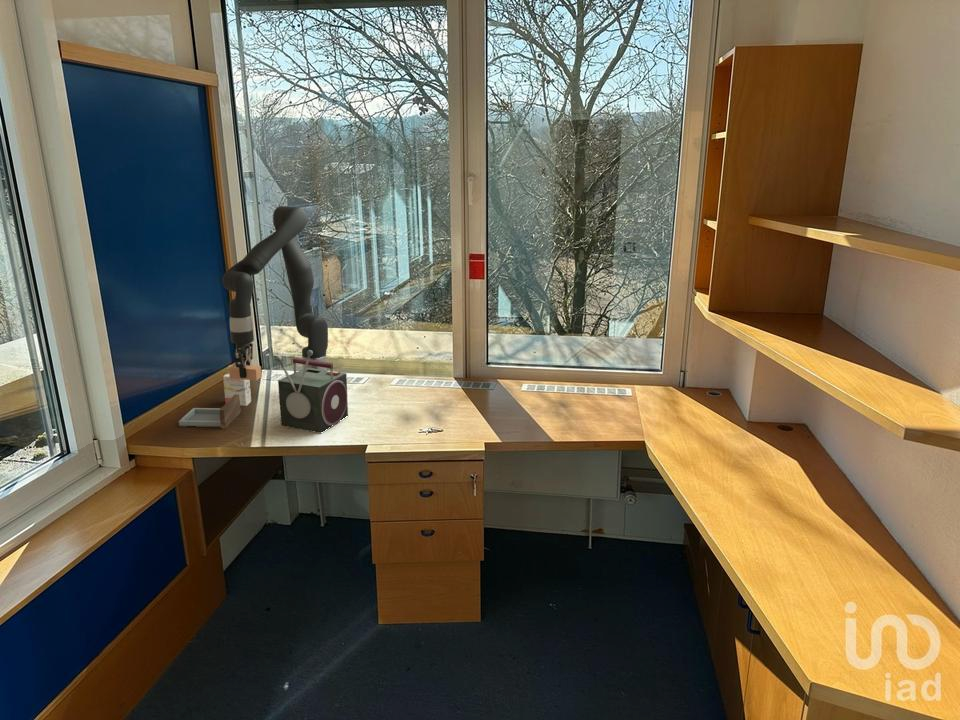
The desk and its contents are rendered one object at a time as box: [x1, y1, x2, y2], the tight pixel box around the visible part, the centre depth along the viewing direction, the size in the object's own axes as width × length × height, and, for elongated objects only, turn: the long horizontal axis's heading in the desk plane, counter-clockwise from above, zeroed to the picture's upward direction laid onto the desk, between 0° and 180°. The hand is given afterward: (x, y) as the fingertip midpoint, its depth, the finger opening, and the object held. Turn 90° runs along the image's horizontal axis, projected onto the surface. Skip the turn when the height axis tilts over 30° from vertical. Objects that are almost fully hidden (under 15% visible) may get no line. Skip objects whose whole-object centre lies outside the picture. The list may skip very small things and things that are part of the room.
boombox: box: [275, 350, 349, 433], centre depth 236 cm, size 18×21×30 cm
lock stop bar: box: [228, 364, 262, 381], centre depth 234 cm, size 10×4×4 cm, turn 83°
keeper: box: [178, 407, 222, 428], centre depth 239 cm, size 15×13×2 cm
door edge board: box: [219, 394, 242, 430], centre depth 238 cm, size 2×16×7 cm, turn 1°
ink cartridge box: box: [222, 364, 252, 407], centre depth 253 cm, size 9×5×15 cm, turn 84°
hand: (245, 375), depth 234 cm, fingers closed on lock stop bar, 4 cm apart
